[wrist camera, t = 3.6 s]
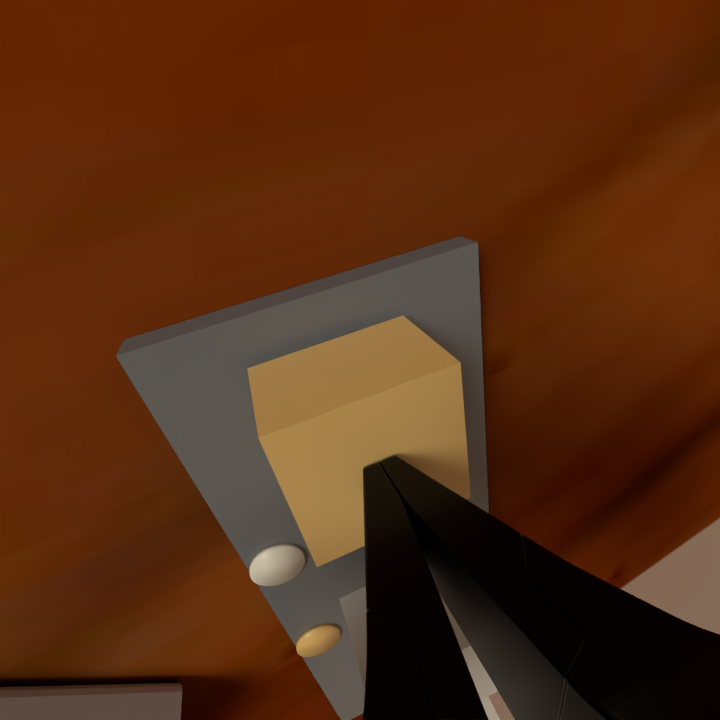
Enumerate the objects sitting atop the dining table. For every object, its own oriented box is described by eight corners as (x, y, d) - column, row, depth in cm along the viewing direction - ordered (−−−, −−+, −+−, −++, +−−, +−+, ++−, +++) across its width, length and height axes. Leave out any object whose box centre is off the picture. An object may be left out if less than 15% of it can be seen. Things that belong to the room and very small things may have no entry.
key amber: (421, 433, 13) (470, 497, 11) (295, 484, 12) (316, 567, 10) (403, 315, 11) (460, 362, 8) (247, 368, 10) (258, 438, 8)
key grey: (460, 606, 17) (504, 687, 14) (363, 655, 16) (392, 749, 13) (452, 545, 14) (503, 627, 12) (339, 598, 13) (368, 699, 11)
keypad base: (484, 626, 25) (496, 646, 24) (338, 702, 23) (344, 727, 22) (459, 236, 12) (482, 243, 11) (124, 339, 10) (113, 359, 9)
